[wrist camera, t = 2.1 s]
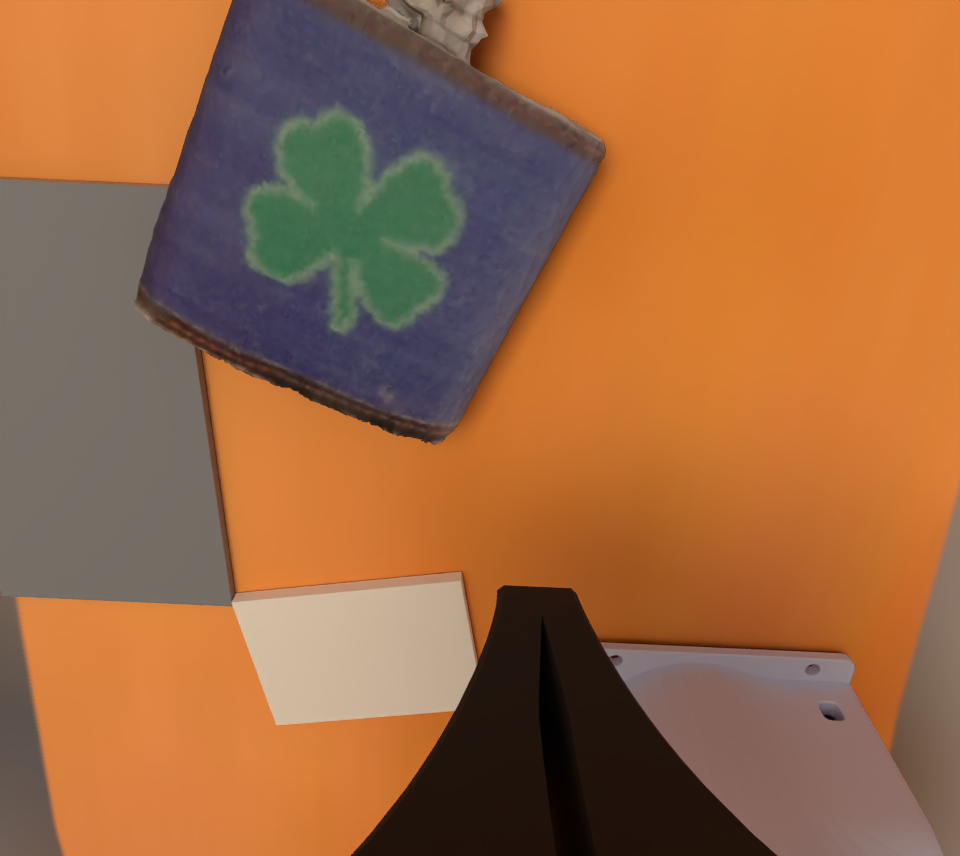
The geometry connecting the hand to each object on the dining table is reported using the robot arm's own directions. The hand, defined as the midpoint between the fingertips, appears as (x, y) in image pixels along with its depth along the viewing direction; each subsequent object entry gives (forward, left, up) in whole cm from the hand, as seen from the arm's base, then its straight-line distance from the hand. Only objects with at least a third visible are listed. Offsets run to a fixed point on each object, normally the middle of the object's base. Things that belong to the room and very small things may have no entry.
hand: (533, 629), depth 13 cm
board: (+13, +1, -10) cm, 17 cm away
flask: (+6, -1, -8) cm, 10 cm away
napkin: (+5, +10, -10) cm, 15 cm away
